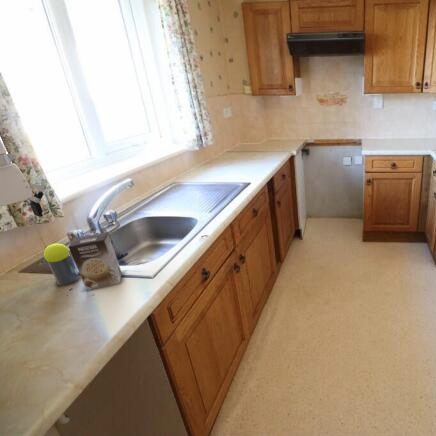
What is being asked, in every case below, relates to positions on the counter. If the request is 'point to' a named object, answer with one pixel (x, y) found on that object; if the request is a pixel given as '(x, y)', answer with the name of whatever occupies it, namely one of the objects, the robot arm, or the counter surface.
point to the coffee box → (96, 260)
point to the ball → (56, 252)
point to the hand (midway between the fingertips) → (19, 222)
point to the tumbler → (64, 271)
